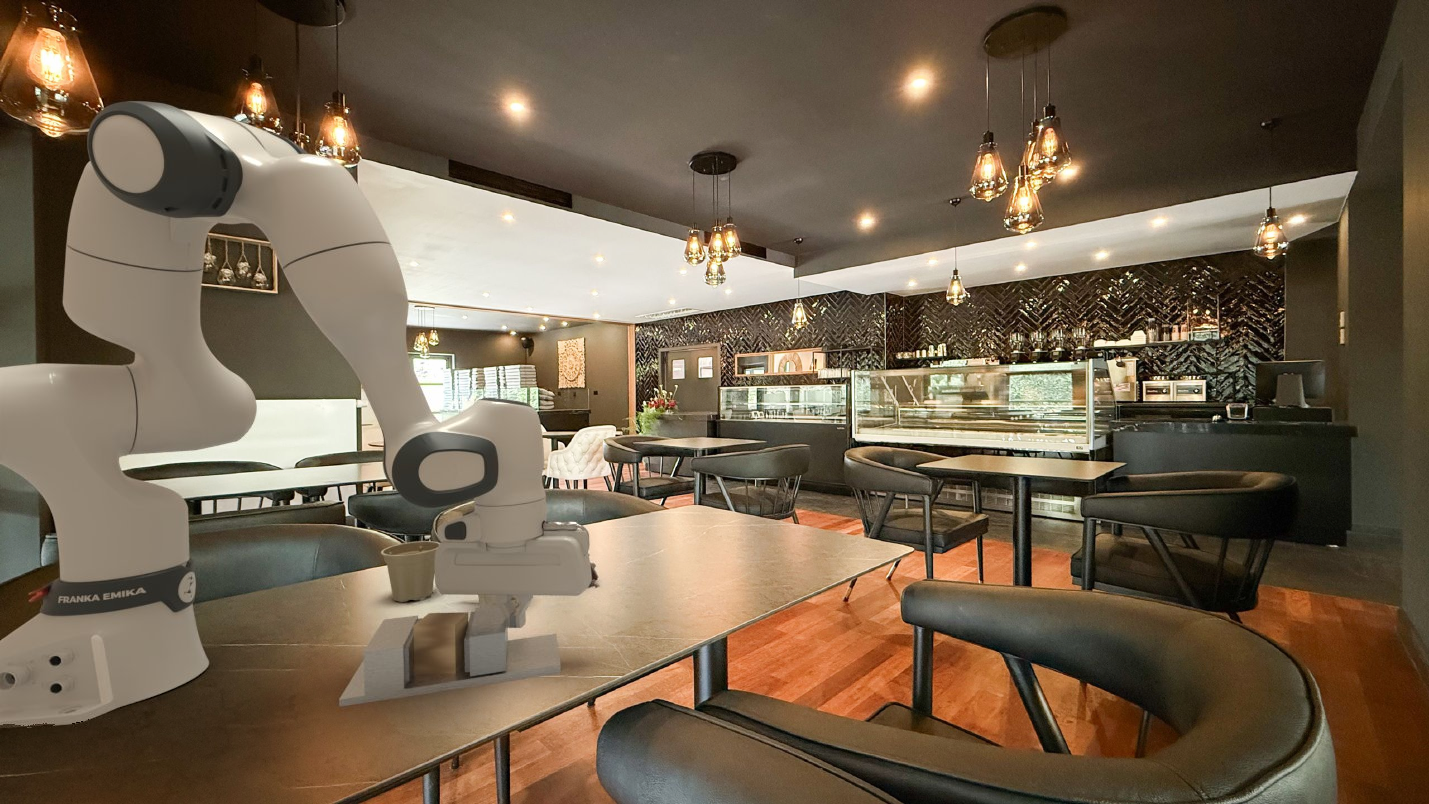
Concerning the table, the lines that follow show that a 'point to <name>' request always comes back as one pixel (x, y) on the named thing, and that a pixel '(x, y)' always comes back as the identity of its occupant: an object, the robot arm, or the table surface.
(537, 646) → the vise base
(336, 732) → the table surface
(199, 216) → the robot arm
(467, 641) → the block
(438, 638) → the block
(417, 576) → the flower pot
